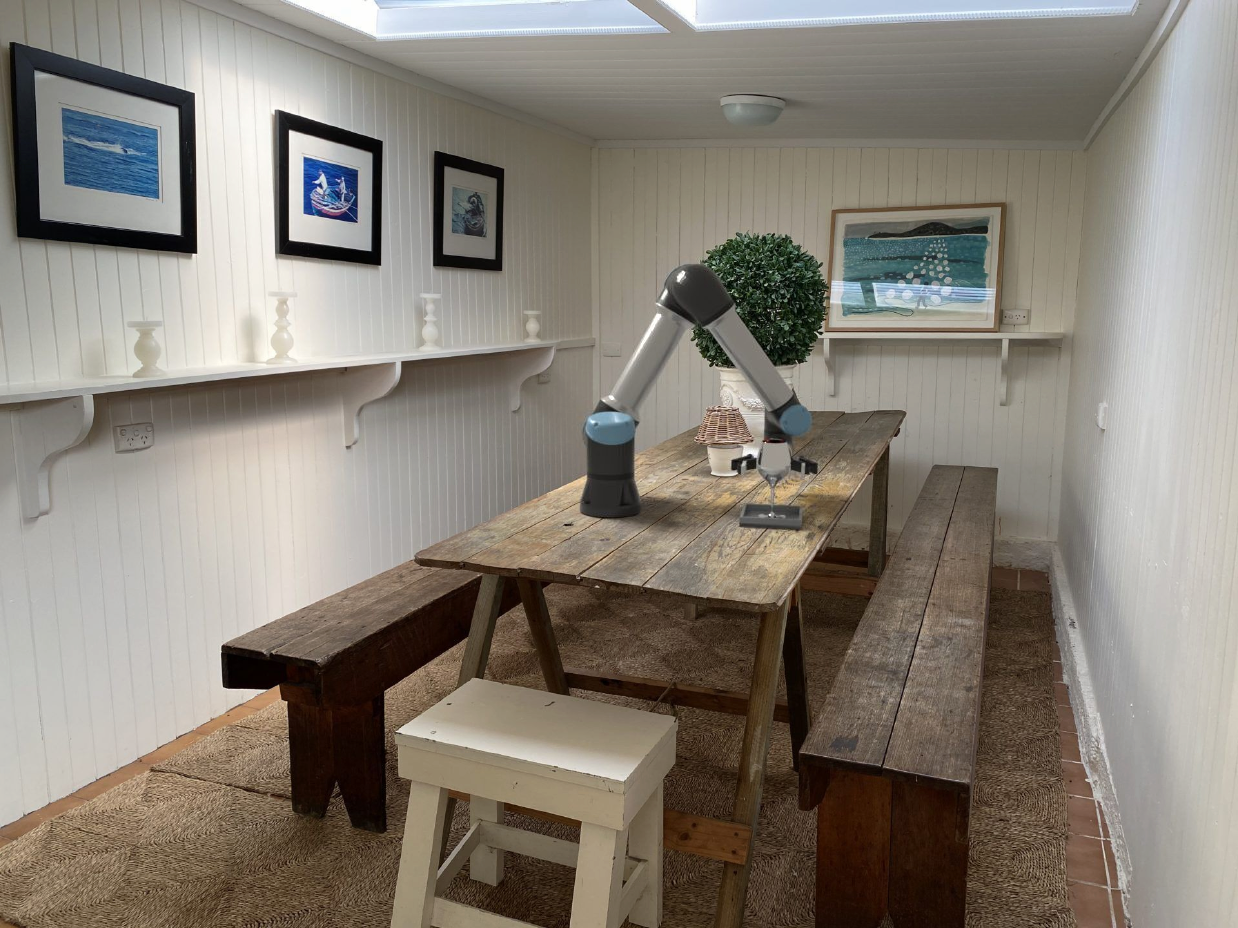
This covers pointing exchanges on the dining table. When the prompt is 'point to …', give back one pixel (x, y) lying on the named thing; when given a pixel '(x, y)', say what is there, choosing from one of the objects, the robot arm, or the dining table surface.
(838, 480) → the dining table surface
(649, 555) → the dining table surface
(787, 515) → the tray
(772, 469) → the wineglass
